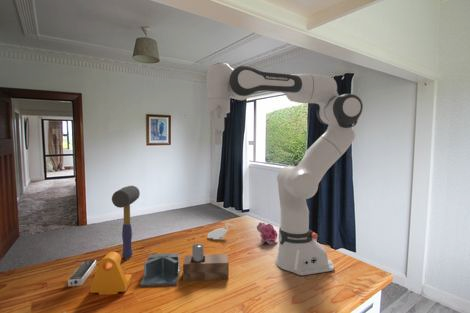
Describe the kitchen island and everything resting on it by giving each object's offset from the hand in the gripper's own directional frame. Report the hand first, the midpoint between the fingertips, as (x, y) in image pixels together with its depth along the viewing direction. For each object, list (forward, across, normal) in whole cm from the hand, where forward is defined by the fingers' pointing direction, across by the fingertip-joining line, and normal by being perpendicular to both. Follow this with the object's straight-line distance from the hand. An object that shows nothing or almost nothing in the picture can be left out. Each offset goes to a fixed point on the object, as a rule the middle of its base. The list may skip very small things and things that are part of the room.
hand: (218, 144), depth 98 cm
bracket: (+48, -12, +35) cm, 61 cm away
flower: (+48, +26, -25) cm, 60 cm away
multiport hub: (+49, -2, +49) cm, 69 cm away
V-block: (+48, -6, +20) cm, 52 cm away
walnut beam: (+48, -6, +4) cm, 49 cm away
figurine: (+48, +28, -3) cm, 56 cm away
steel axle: (+48, -6, +7) cm, 49 cm away
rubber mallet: (+48, +10, +37) cm, 62 cm away
